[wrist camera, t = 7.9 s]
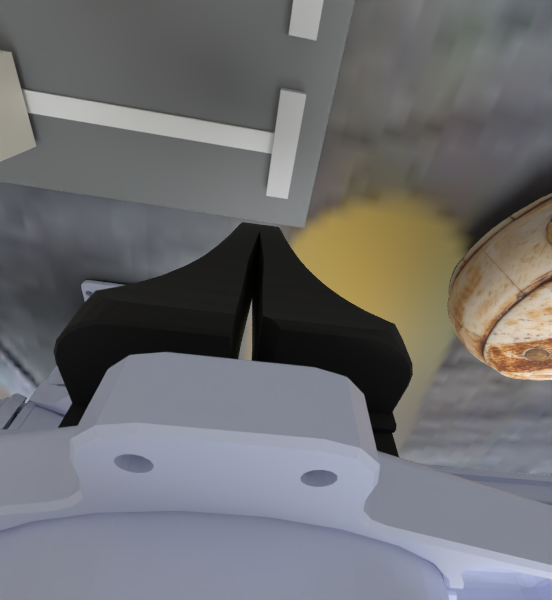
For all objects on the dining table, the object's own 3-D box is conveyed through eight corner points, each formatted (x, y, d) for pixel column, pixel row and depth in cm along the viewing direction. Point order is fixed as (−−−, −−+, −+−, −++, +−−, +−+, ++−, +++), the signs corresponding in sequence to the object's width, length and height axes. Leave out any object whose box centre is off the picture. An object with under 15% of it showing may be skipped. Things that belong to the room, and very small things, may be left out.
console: (303, 219, 21) (305, 235, 20) (-27, 169, 20) (-57, 181, 18) (394, -199, 12) (414, -242, 10) (-236, -367, 10) (-343, -452, 8)
